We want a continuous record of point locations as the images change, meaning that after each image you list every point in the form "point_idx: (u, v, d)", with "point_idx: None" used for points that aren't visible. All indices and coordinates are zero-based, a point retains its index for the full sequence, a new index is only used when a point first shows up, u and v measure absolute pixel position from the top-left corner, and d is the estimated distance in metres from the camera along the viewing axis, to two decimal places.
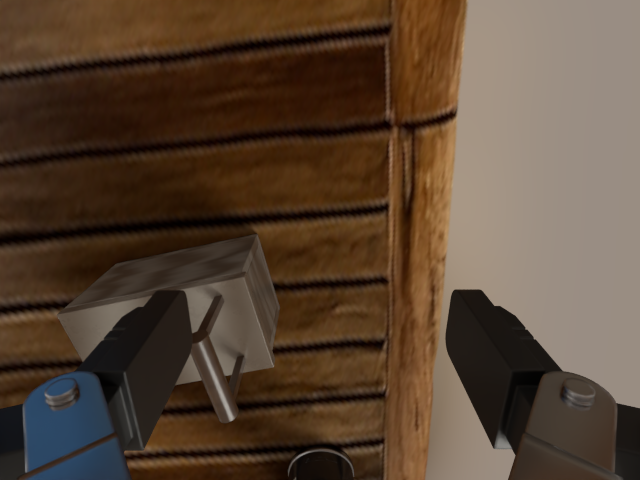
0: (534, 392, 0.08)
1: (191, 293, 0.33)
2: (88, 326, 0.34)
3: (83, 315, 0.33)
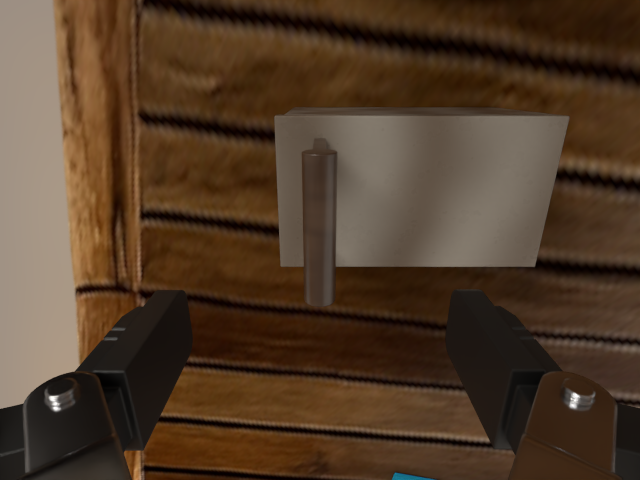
0: (534, 392, 0.08)
1: (352, 259, 0.25)
2: (506, 243, 0.25)
3: (502, 259, 0.25)
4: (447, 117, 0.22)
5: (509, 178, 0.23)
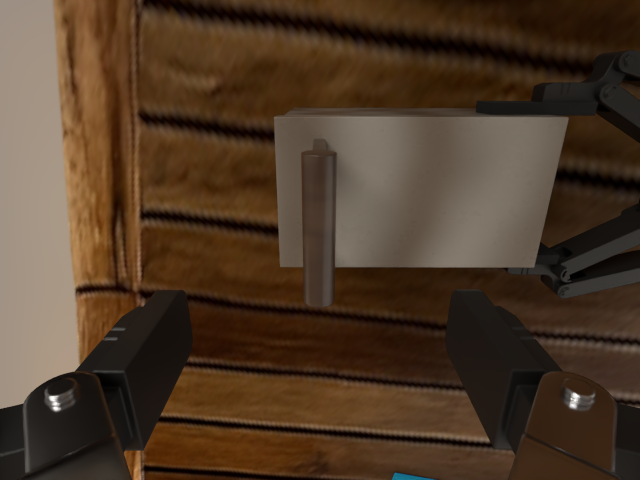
0: (534, 392, 0.08)
1: (351, 260, 0.25)
2: (505, 244, 0.25)
3: (501, 260, 0.25)
4: (447, 118, 0.22)
5: (509, 179, 0.23)
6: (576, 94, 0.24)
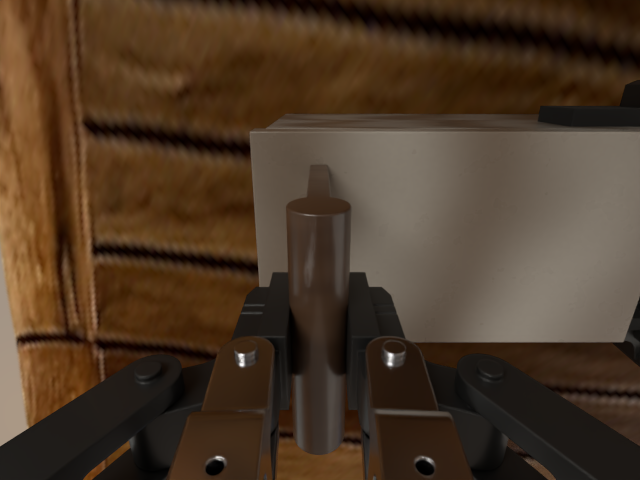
0: None
1: None
2: (585, 311, 0.17)
3: (578, 332, 0.18)
4: (513, 133, 0.15)
5: (599, 222, 0.16)
6: None
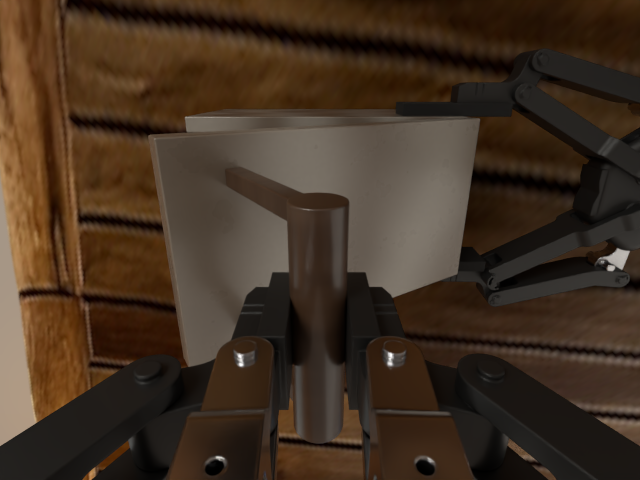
0: None
1: None
2: (436, 258, 0.23)
3: (433, 275, 0.23)
4: (383, 125, 0.18)
5: (438, 189, 0.21)
6: (492, 94, 0.23)
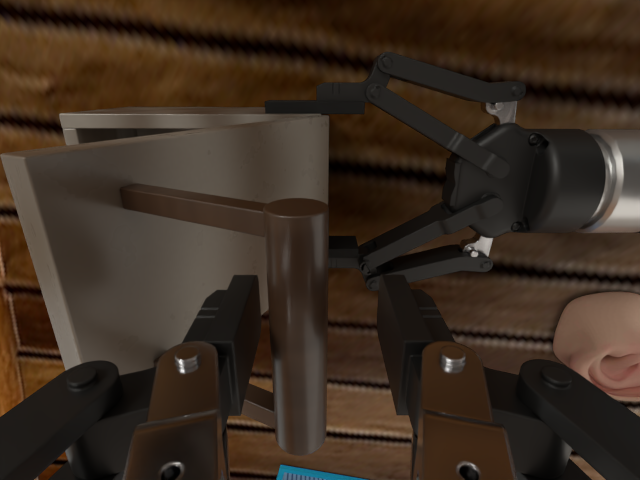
0: None
1: None
2: None
3: None
4: (262, 126, 0.18)
5: (308, 183, 0.22)
6: (347, 94, 0.25)
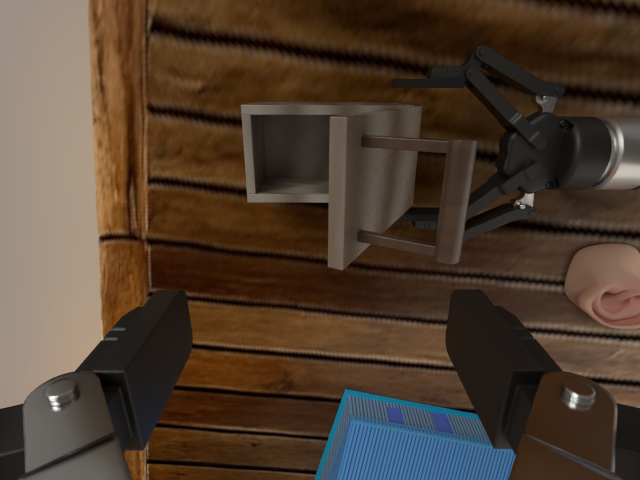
0: (534, 392, 0.08)
1: None
2: (408, 194, 0.37)
3: (406, 205, 0.37)
4: (399, 110, 0.30)
5: None
6: (452, 74, 0.37)
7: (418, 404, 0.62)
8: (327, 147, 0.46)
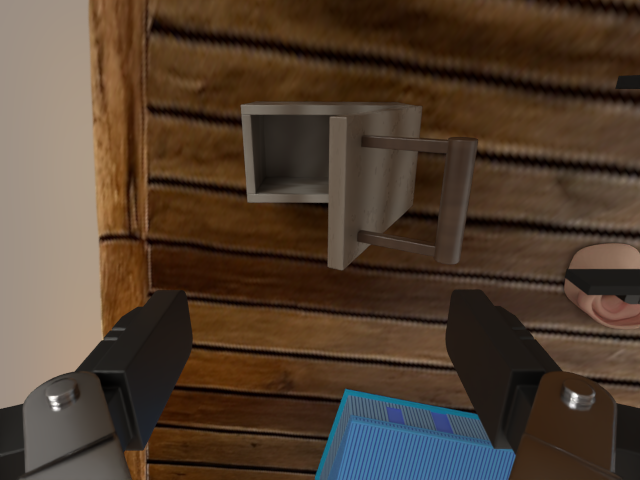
0: (534, 392, 0.08)
1: None
2: (408, 194, 0.37)
3: (406, 205, 0.37)
4: (399, 110, 0.30)
5: None
6: None
7: (418, 404, 0.62)
8: (327, 147, 0.46)
